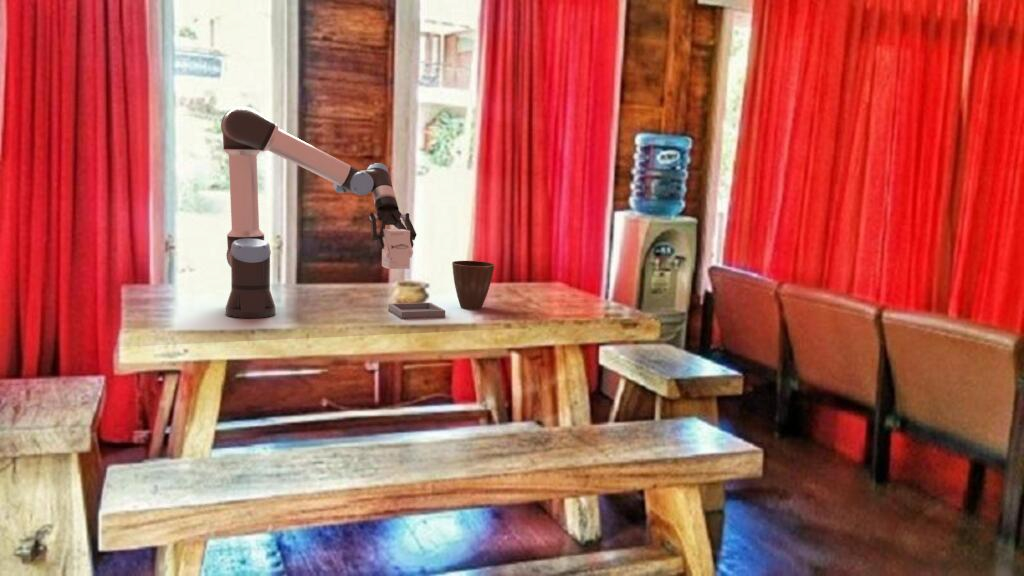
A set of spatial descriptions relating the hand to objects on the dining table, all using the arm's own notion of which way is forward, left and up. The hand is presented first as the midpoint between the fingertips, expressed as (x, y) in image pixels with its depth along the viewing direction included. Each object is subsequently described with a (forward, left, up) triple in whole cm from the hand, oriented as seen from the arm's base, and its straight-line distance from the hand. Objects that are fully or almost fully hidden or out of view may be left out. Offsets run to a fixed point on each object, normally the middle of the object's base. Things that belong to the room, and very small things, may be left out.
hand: (399, 255), depth 263 cm
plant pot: (+30, +9, -20) cm, 37 cm away
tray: (+7, +1, -20) cm, 21 cm away
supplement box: (0, +3, -5) cm, 6 cm away
